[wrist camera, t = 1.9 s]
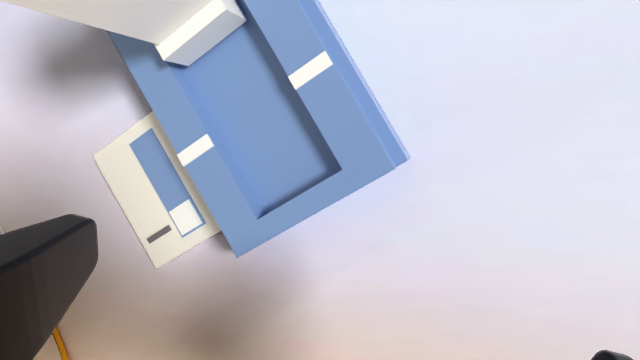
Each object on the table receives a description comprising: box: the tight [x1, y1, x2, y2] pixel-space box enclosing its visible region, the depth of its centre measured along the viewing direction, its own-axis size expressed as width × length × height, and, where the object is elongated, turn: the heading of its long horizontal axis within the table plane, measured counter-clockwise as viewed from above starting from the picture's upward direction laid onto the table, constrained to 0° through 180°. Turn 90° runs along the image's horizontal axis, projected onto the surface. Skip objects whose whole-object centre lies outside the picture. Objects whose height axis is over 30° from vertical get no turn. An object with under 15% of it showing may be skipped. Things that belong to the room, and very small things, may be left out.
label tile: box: [93, 111, 221, 269], centre depth 22 cm, size 7×5×1 cm
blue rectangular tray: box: [107, 0, 410, 258], centre depth 18 cm, size 15×9×3 cm, turn 31°
